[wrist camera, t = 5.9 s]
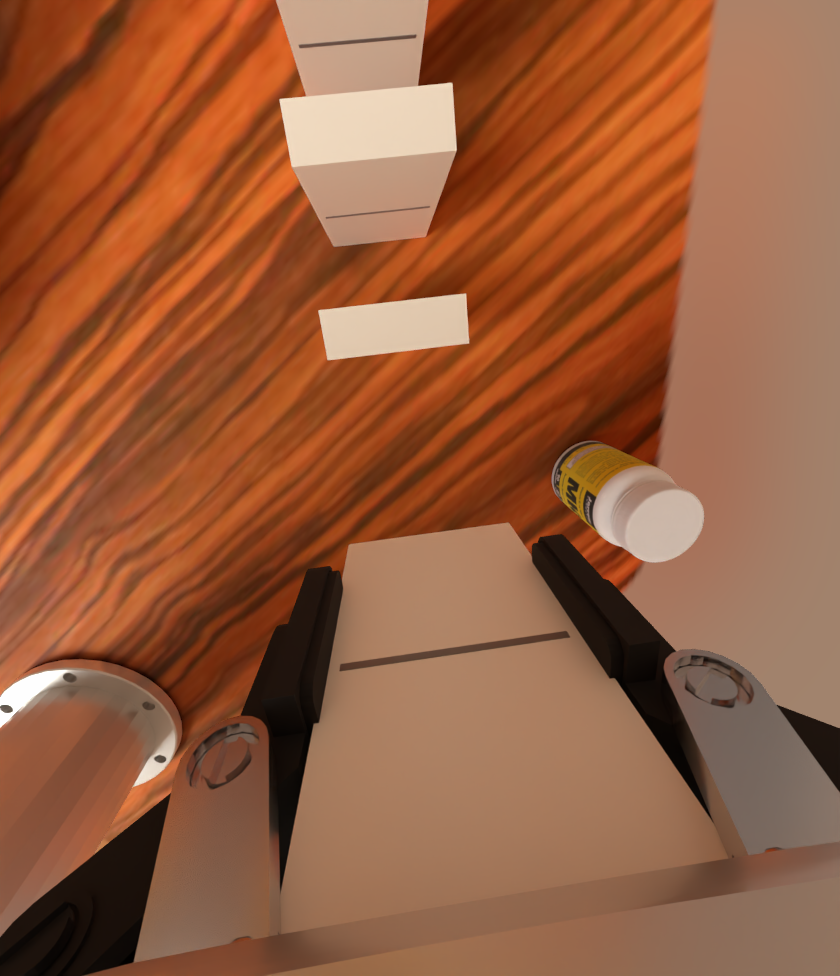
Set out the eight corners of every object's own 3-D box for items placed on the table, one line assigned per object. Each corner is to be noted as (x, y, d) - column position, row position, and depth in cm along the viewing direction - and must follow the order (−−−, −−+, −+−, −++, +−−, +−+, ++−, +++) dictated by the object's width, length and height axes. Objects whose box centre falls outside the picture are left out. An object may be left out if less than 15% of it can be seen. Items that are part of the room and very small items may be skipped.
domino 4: (510, 567, 13) (843, 1170, 3) (357, 588, 13) (271, 1284, 3) (508, 521, 12) (901, 1098, 3) (348, 543, 12) (214, 1230, 3)
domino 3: (435, 345, 23) (469, 344, 14) (351, 355, 23) (327, 361, 14) (432, 315, 23) (465, 292, 13) (346, 325, 22) (318, 309, 13)
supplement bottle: (537, 464, 26) (603, 514, 18) (601, 425, 26) (695, 460, 18) (567, 518, 28) (639, 586, 20) (627, 483, 27) (725, 538, 19)
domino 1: (414, 110, 19) (442, -109, 10) (313, 120, 19) (246, -95, 10) (410, 67, 19) (436, -207, 10) (306, 77, 19) (228, -194, 9)
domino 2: (425, 237, 21) (456, 151, 12) (333, 247, 21) (291, 168, 12) (422, 201, 21) (452, 81, 11) (327, 211, 21) (279, 98, 11)
